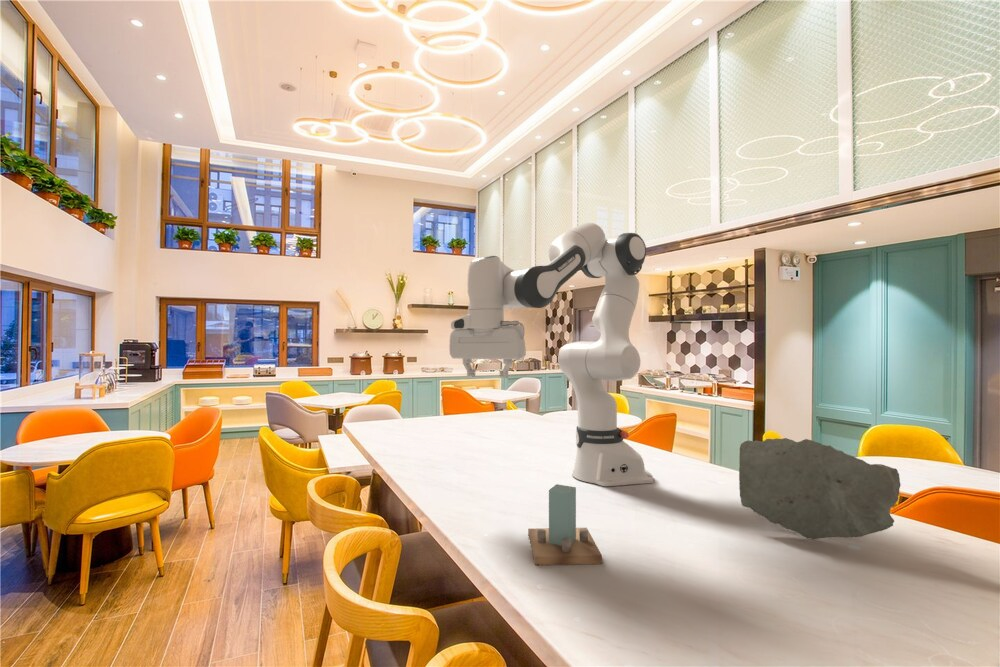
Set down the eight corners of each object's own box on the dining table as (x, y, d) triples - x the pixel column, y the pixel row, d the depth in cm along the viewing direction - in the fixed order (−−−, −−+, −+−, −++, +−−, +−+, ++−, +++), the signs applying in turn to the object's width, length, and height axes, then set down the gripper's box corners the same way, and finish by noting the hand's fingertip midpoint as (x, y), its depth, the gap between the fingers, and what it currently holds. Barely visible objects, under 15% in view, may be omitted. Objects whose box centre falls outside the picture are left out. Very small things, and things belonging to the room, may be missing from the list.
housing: (586, 534, 96) (586, 517, 96) (601, 563, 84) (601, 544, 84) (528, 535, 95) (528, 518, 95) (535, 565, 83) (535, 545, 83)
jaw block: (548, 542, 89) (548, 490, 89) (556, 534, 92) (556, 484, 92) (569, 547, 87) (568, 493, 87) (575, 539, 90) (575, 487, 90)
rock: (895, 547, 90) (895, 443, 90) (904, 561, 84) (904, 450, 84) (739, 521, 103) (739, 430, 103) (738, 531, 97) (738, 435, 97)
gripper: (529, 320, 114) (530, 377, 114) (459, 322, 123) (460, 374, 124) (518, 320, 108) (519, 379, 108) (445, 322, 118) (446, 377, 118)
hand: (487, 377), depth 116 cm, fingers open, 8 cm apart
